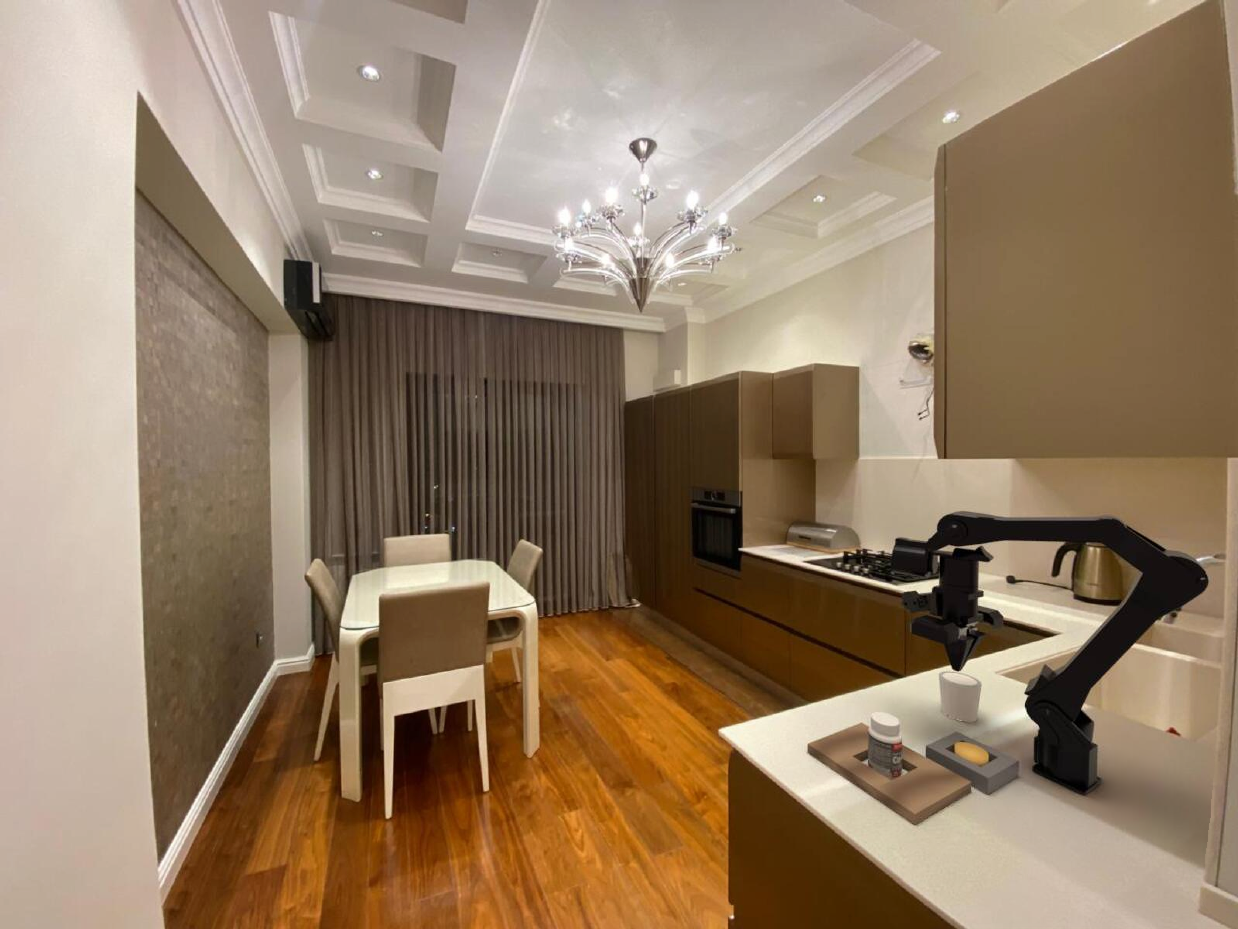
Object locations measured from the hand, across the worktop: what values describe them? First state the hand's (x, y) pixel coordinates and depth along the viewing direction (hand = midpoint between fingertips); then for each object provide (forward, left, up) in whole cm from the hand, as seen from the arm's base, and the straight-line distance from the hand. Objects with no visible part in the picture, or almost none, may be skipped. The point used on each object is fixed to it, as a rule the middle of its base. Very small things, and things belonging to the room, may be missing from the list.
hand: (956, 670), depth 86 cm
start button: (-6, +7, -12) cm, 15 cm away
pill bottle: (0, +20, -12) cm, 23 cm away
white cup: (+4, -9, -12) cm, 16 cm away
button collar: (-6, +7, -12) cm, 15 cm away
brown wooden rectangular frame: (0, +20, -12) cm, 23 cm away
